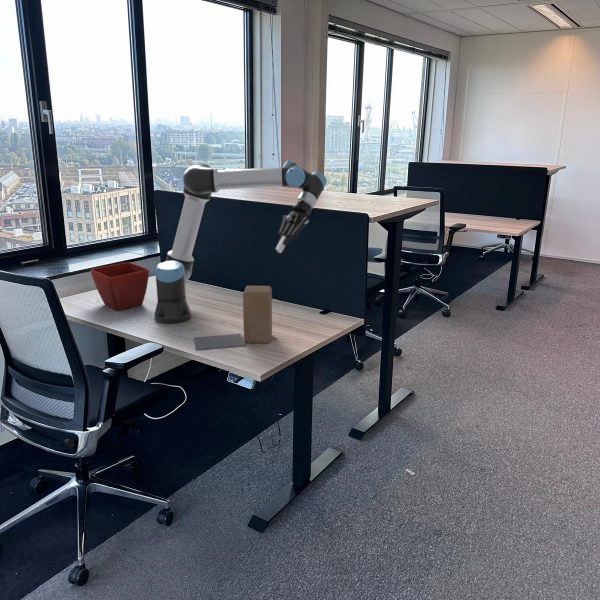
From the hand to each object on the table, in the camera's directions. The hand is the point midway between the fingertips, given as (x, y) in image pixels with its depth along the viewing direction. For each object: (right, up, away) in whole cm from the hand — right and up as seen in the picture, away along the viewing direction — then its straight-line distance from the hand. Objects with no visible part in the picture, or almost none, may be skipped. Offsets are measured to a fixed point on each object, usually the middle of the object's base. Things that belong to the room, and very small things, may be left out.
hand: (278, 250), depth 214 cm
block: (-7, -35, -10) cm, 37 cm away
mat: (-22, -36, -14) cm, 44 cm away
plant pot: (-72, -22, +28) cm, 80 cm away
